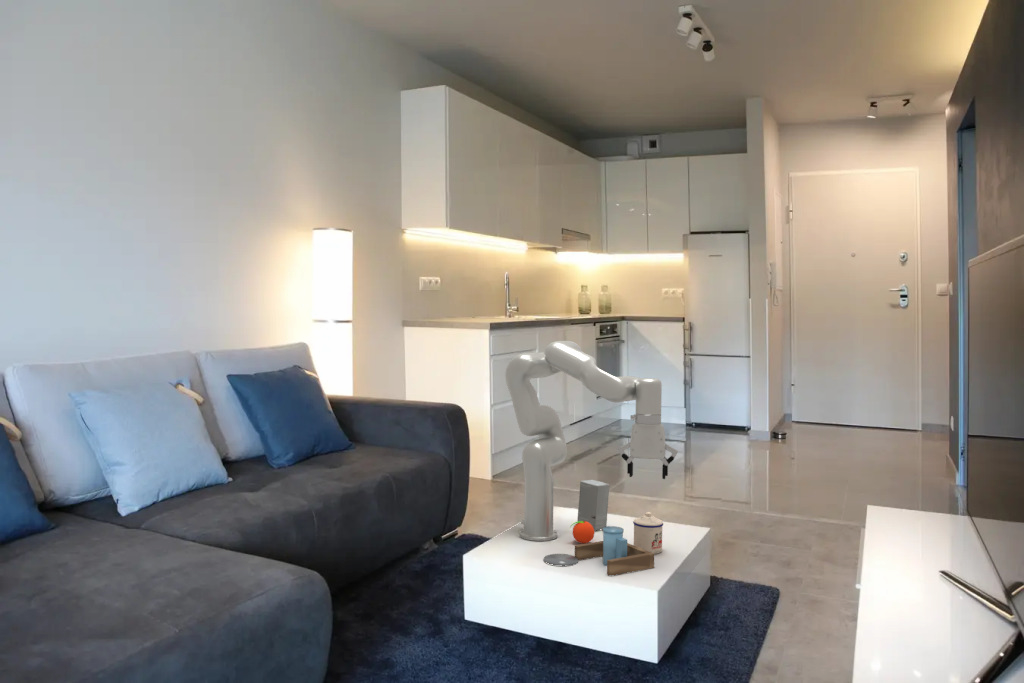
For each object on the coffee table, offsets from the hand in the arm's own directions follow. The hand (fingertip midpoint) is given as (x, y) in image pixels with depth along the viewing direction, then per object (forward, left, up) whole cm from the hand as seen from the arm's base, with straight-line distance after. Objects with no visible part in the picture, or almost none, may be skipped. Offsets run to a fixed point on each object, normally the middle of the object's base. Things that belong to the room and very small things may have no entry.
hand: (647, 477), depth 222 cm
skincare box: (-34, +6, -24) cm, 43 cm away
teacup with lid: (-6, +7, -24) cm, 26 cm away
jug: (+1, -12, -24) cm, 27 cm away
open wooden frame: (0, -12, -24) cm, 27 cm away
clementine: (-21, -8, -24) cm, 33 cm away
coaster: (-9, -24, -24) cm, 35 cm away
